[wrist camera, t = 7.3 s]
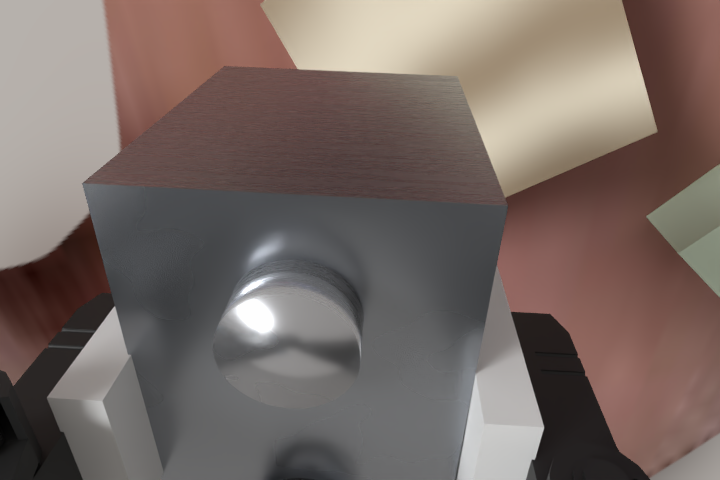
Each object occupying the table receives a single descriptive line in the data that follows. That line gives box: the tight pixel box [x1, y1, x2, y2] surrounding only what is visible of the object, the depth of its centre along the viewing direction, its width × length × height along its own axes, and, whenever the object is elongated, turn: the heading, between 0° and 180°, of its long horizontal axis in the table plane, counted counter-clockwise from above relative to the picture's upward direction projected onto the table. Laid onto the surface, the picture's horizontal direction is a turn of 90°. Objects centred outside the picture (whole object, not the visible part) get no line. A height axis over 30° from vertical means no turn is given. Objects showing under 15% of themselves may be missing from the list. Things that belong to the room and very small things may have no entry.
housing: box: [82, 66, 508, 480], centre depth 10 cm, size 5×8×7 cm, turn 178°
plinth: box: [260, 0, 658, 198], centre depth 23 cm, size 14×14×5 cm
